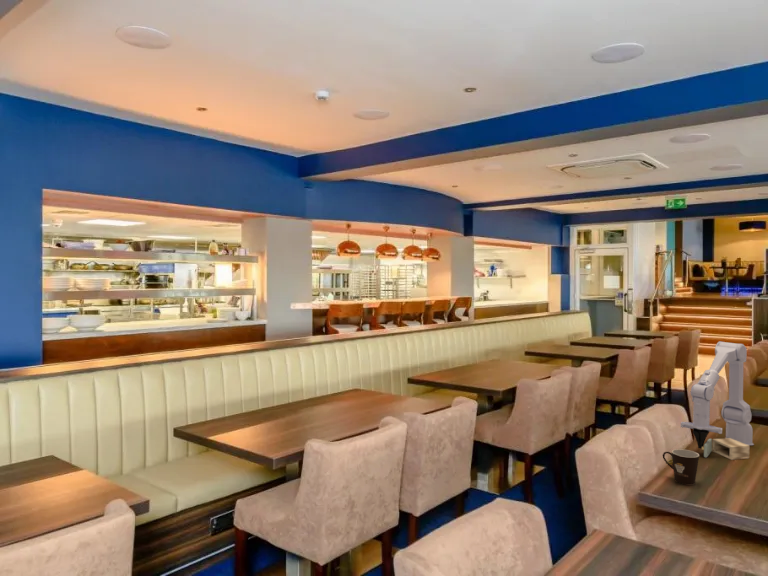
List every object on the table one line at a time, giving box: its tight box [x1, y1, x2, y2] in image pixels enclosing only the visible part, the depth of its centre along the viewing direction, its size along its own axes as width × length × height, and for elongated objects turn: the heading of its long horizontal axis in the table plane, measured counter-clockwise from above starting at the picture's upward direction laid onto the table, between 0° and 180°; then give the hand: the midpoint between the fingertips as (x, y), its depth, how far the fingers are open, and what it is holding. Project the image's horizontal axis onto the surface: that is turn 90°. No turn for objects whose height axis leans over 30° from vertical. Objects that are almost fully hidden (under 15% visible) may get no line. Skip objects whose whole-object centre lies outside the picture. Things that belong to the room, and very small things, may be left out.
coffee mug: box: [662, 448, 700, 485], centre depth 204 cm, size 12×9×10 cm
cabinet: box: [711, 437, 751, 461], centre depth 230 cm, size 8×10×5 cm
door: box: [701, 438, 713, 458], centre depth 230 cm, size 2×10×5 cm, turn 140°
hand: (700, 447), depth 230 cm, fingers closed
